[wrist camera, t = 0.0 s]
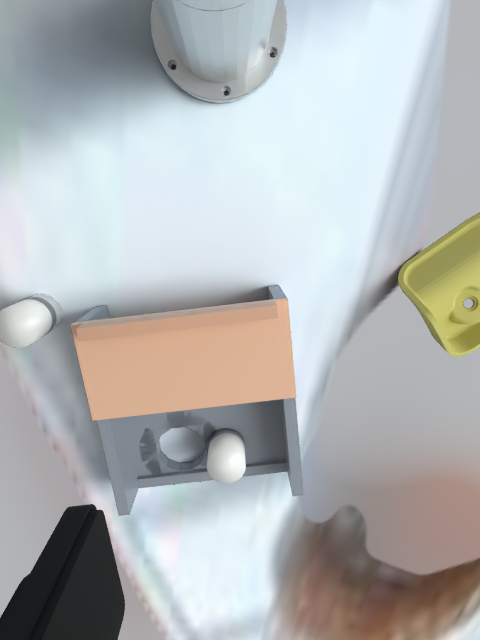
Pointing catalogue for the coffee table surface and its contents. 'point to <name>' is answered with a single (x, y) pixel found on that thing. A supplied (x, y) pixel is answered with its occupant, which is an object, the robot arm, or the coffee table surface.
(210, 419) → the housing
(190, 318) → the lid
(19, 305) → the peg
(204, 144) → the coffee table surface
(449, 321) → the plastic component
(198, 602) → the coffee table surface
